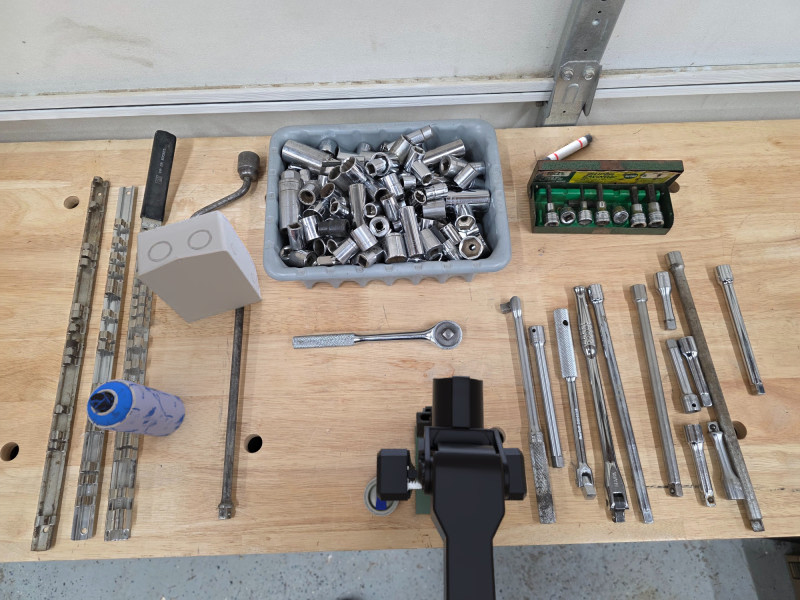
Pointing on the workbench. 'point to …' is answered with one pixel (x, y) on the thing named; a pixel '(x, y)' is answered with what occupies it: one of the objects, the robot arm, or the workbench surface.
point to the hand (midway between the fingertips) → (445, 473)
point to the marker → (570, 148)
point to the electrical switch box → (198, 266)
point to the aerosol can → (134, 409)
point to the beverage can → (377, 501)
